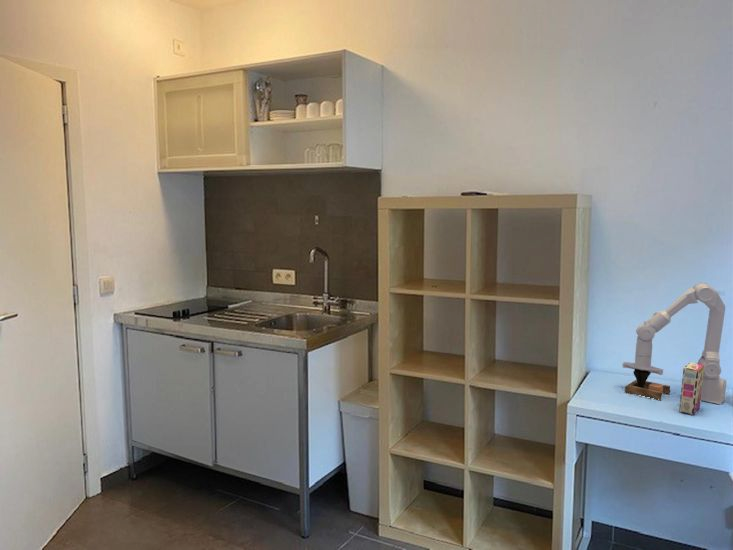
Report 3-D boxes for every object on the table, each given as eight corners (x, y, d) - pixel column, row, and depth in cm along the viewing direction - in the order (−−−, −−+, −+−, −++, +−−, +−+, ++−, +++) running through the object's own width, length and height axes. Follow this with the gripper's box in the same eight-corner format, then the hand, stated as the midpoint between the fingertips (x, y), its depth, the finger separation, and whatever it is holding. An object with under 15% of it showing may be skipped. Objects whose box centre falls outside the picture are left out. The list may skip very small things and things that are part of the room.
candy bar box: (694, 416, 208) (698, 370, 206) (678, 412, 211) (682, 367, 209) (700, 407, 216) (704, 363, 214) (685, 404, 219) (689, 361, 217)
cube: (662, 395, 230) (663, 385, 229) (659, 397, 227) (660, 387, 226) (651, 392, 232) (652, 382, 232) (648, 395, 229) (648, 385, 229)
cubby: (669, 393, 231) (670, 386, 231) (660, 400, 223) (660, 392, 223) (635, 386, 240) (635, 378, 240) (624, 392, 232) (625, 385, 231)
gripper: (666, 356, 229) (663, 390, 231) (628, 349, 239) (625, 382, 241) (660, 360, 224) (658, 394, 226) (621, 352, 234) (619, 386, 236)
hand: (640, 388), depth 233 cm, fingers closed
